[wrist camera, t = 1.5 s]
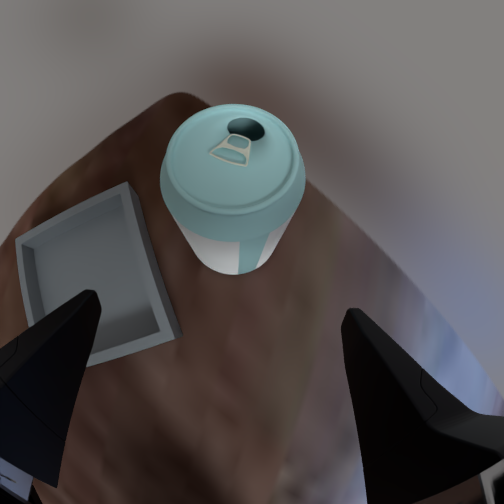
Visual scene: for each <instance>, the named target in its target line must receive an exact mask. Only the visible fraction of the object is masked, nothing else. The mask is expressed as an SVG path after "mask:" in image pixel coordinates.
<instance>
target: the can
mask: <svg viewBox="0 0 504 504" xmlns="http://www.w3.org/2000/svg"><path fill="white" fill-rule="evenodd" d="M160 187H161V192H162V196H163V199H164V202H165V204H166V206H167V208H168V209H169V211H170V213H171V214H172V216H173V218H174V220H175V221H176V223H177V225H178V226H179V228H180V230H181V231H182V233H183V234H184V236H185V238H186V239H187V241H188V243H189V244H190V246H191V247H192V249H193V251H194V252H195V254H196V255H197V257H198V258H199V259H200V260H201V261H202V262H203V263H204V264H205V265H206V266H208V267H209V268H211V269H213V270H215V271H217V272H220V273H224V274H233V275H235V274H243V273H247V272H250V271H252V270H254V269H256V268H258V267H259V266H261V265H262V264H263V263H264V262H266V260H267V259H268V258H269V257H270V256H271V254H272V252H273V251H274V249H275V247H276V245H277V243H278V242H279V240H280V238H281V236H282V234H283V233H284V231H285V229H286V227H287V225H288V224H289V222H290V220H291V218H292V216H293V214H294V213H295V211H296V209H297V207H298V205H299V203H300V201H301V199H302V196H303V193H304V188H305V168H304V163H303V160H302V157H301V154H300V152H299V150H298V146H297V143H296V140H295V138H294V136H293V134H292V133H291V131H290V130H289V129H288V127H287V126H286V125H285V124H284V123H283V122H282V121H281V120H279V119H278V118H277V117H275V116H274V115H272V114H271V113H269V112H267V111H265V110H262V109H260V108H257V107H253V106H249V105H242V104H224V105H218V106H214V107H210V108H207V109H204V110H202V111H200V112H198V113H196V114H194V115H193V116H191V117H190V118H188V119H187V120H186V121H185V122H184V123H182V124H181V125H180V127H179V128H178V129H177V130H176V131H175V133H174V134H173V136H172V138H171V140H170V142H169V144H168V147H167V151H166V155H165V157H164V160H163V163H162V167H161V173H160Z"/></svg>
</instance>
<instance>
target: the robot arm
mask: <svg viewBox="0 0 504 504" xmlns="http://www.w3.org/2000/svg"><path fill="white" fill-rule="evenodd" d="M101 313H102V307H101V304H100V301H99V298H98V294H97V292H96V291H95V290H91V289H85V290H83V291H82V292H80V293H79V294H77V295H76V296H74V297H73V298H71V299H70V300H68V301H67V302H65V303H64V304H62V305H61V306H59V307H58V308H57V309H55V310H54V311H52V312H51V313H49V314H48V315H46V316H45V317H44V318H42V319H41V320H39V321H38V322H36V323H35V324H34V325H32V326H31V327H29V328H28V329H27V330H25V331H24V332H23V333H21V334H20V335H19V336H17V337H16V338H14V339H13V340H12V341H10V342H9V343H8V344H6V345H5V346H3V347H2V348H0V504H42V502H41V500H40V498H39V496H38V494H37V492H36V490H35V488H34V486H33V485H32V483H33V479H34V477H35V478H36V479H38V480H40V481H42V482H44V483H46V484H49V485H51V486H53V487H55V488H57V485H58V479H59V472H60V467H61V461H62V456H63V451H64V446H65V441H66V436H67V432H68V428H69V424H70V420H71V416H72V412H73V408H74V405H75V401H76V398H77V394H78V391H79V387H80V384H81V381H82V378H83V375H84V371H85V368H86V365H87V362H88V359H89V356H90V354H91V351H92V347H93V344H94V340H95V336H96V332H97V328H98V324H99V320H100V317H101ZM341 335H342V343H343V353H344V363H345V369H346V374H347V379H348V384H349V389H350V394H351V399H352V404H353V409H354V415H355V420H356V426H357V432H358V438H359V444H360V450H361V457H362V463H363V467H364V468H363V472H364V479H365V487H366V495H367V504H504V417H503V416H492V415H484V414H479V413H476V412H474V411H472V410H471V409H469V408H468V407H467V406H466V405H464V404H463V403H462V402H461V401H459V400H458V399H457V398H456V397H455V396H453V395H452V394H451V393H450V392H449V391H447V390H446V389H445V388H444V387H443V386H442V385H440V384H439V383H438V382H437V381H436V380H435V379H434V378H433V377H432V376H431V375H429V374H428V373H427V372H426V371H425V370H424V369H423V368H422V367H421V366H420V365H419V364H418V363H417V362H416V361H415V360H414V359H413V358H412V357H411V356H410V355H409V354H408V353H407V352H406V351H405V350H404V349H402V348H401V347H400V346H399V345H398V344H397V343H396V342H395V341H394V340H393V339H392V338H391V337H390V336H389V335H388V334H387V333H386V332H385V331H383V330H382V329H381V328H380V327H379V326H378V325H377V324H376V323H375V322H374V321H373V320H372V319H371V318H369V317H368V316H367V315H366V314H365V313H364V312H363V311H362V310H361V309H359V308H349V309H348V310H347V312H346V315H345V317H344V320H343V322H342V325H341Z"/></svg>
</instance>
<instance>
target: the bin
mask: <svg viewBox="0 0 504 504" xmlns="http://www.w3.org/2000/svg"><path fill="white" fill-rule="evenodd" d="M15 243H16V254H17V263H18V271H19V279H20V285H21V291H22V297H23V302H24V307H25V312H26V316H27V321H28V325H29V327H31V326H32V325H34V324H35V323H36V322H38V321H39V320H41V319H42V318H44V317H45V316H46V315H48V314H49V313H51V312H52V311H54V310H55V309H57V308H58V307H59V306H61V305H62V304H64V303H65V302H67V301H68V300H70V299H71V298H73V297H74V296H76V295H77V294H79V293H80V292H82V291H83V290H85V289H91V290H95V291H96V292H97V294H98V298H99V301H100V304H101V307H102V313H101V317H100V320H99V324H98V328H97V332H96V336H95V340H94V344H93V347H92V351H91V354H90V356H89V359H88V362H87V365H86V367H89V366H93V365H96V364H99V363H103V362H106V361H109V360H112V359H116V358H119V357H122V356H125V355H128V354H131V353H135V352H138V351H141V350H144V349H147V348H150V347H153V346H156V345H159V344H162V343H165V342H167V341H170V340H173V339H176V338H179V337H182V336H183V334H182V332H181V329H180V326H179V324H178V321H177V318H176V316H175V313H174V310H173V308H172V305H171V302H170V299H169V296H168V294H167V291H166V288H165V285H164V282H163V279H162V276H161V273H160V270H159V267H158V263H157V260H156V257H155V254H154V251H153V247H152V244H151V241H150V237H149V234H148V230H147V227H146V223H145V220H144V216H143V212H142V209H141V205H140V201H139V197H138V195H137V194H136V192H135V191H134V190H133V188H132V187H131V186H130V184H129V183H128V182H124V183H122V184H120V185H117V186H115V187H113V188H111V189H109V190H106V191H104V192H102V193H100V194H98V195H96V196H94V197H92V198H89V199H87V200H85V201H83V202H81V203H79V204H77V205H75V206H73V207H71V208H70V209H68V210H66V211H64V212H62V213H60V214H58V215H56V216H54V217H53V218H51V219H49V220H47V221H45V222H44V223H42V224H40V225H38V226H37V227H35V228H33V229H31V230H30V231H28V232H26V233H25V234H23V235H21V236H20V237H18V238H16V239H15Z"/></svg>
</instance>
